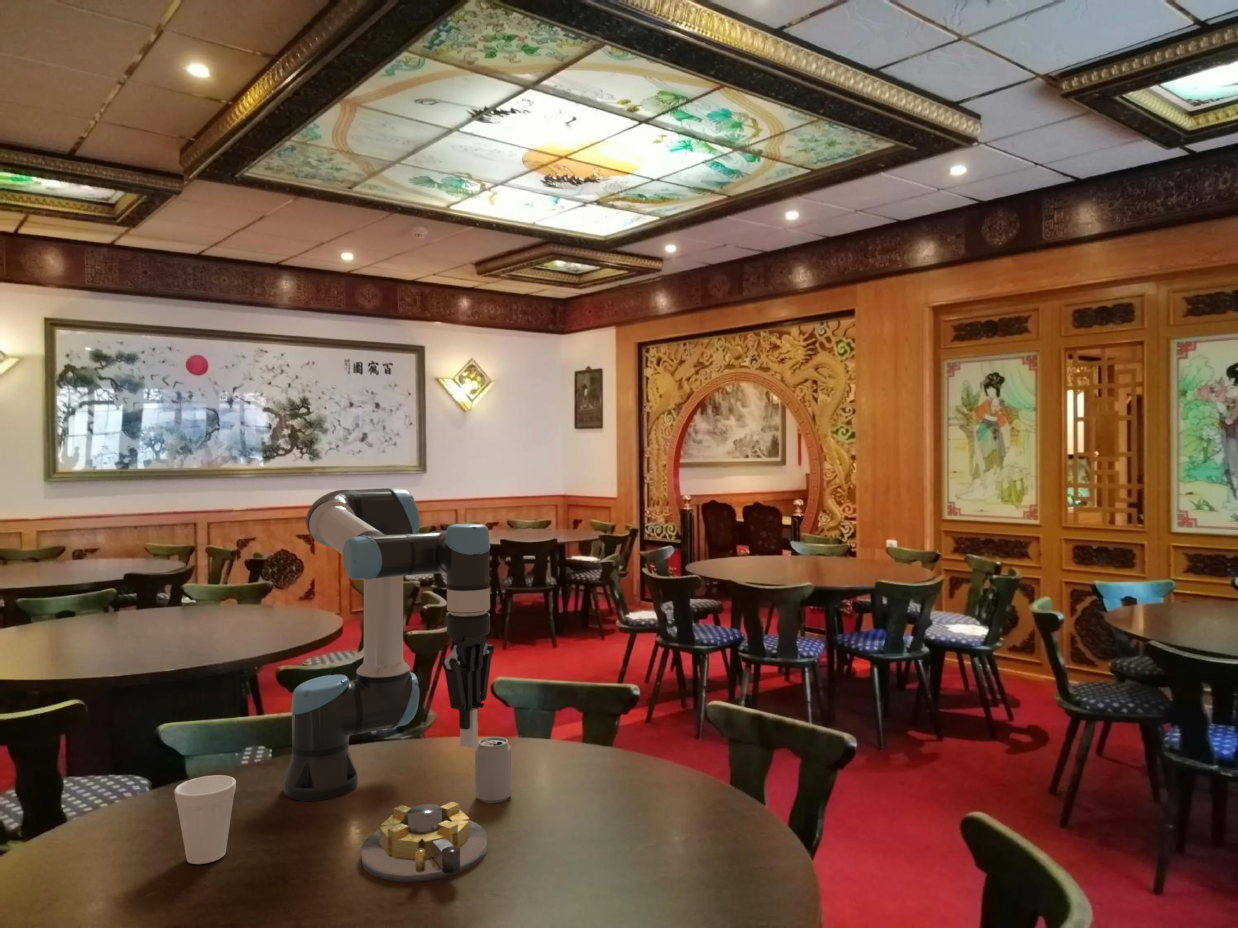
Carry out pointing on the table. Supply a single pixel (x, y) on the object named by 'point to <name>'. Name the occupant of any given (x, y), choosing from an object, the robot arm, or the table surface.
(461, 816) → the ring nut
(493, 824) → the table surface
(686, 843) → the table surface
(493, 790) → the can
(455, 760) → the table surface
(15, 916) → the table surface
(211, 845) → the cup
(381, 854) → the cap base
